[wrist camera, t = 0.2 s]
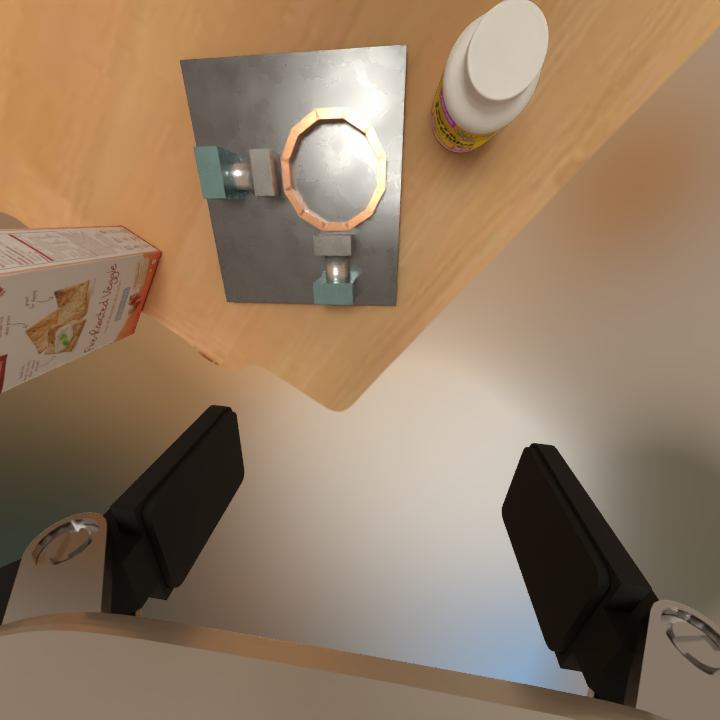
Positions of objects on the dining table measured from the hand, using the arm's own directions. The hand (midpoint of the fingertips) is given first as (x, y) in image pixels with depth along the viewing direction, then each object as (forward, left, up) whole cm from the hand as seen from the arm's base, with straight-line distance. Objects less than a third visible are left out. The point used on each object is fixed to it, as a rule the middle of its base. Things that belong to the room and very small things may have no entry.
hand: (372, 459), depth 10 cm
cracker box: (+1, -35, -31) cm, 47 cm away
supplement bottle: (-16, +7, -31) cm, 35 cm away
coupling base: (-9, -10, -31) cm, 34 cm away
